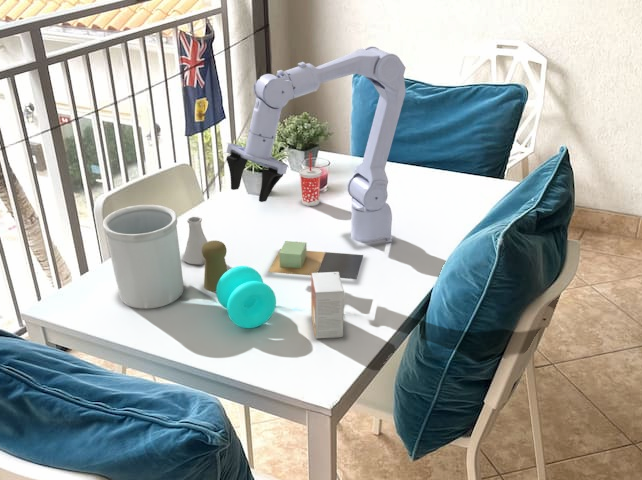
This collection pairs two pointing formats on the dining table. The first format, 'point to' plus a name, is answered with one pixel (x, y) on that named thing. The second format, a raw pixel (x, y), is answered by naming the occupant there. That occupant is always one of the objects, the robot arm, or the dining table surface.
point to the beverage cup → (310, 184)
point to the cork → (214, 263)
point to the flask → (195, 242)
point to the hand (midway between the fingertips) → (248, 195)
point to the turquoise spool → (246, 297)
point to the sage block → (293, 254)
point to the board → (323, 264)
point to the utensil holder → (145, 255)
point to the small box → (327, 304)
